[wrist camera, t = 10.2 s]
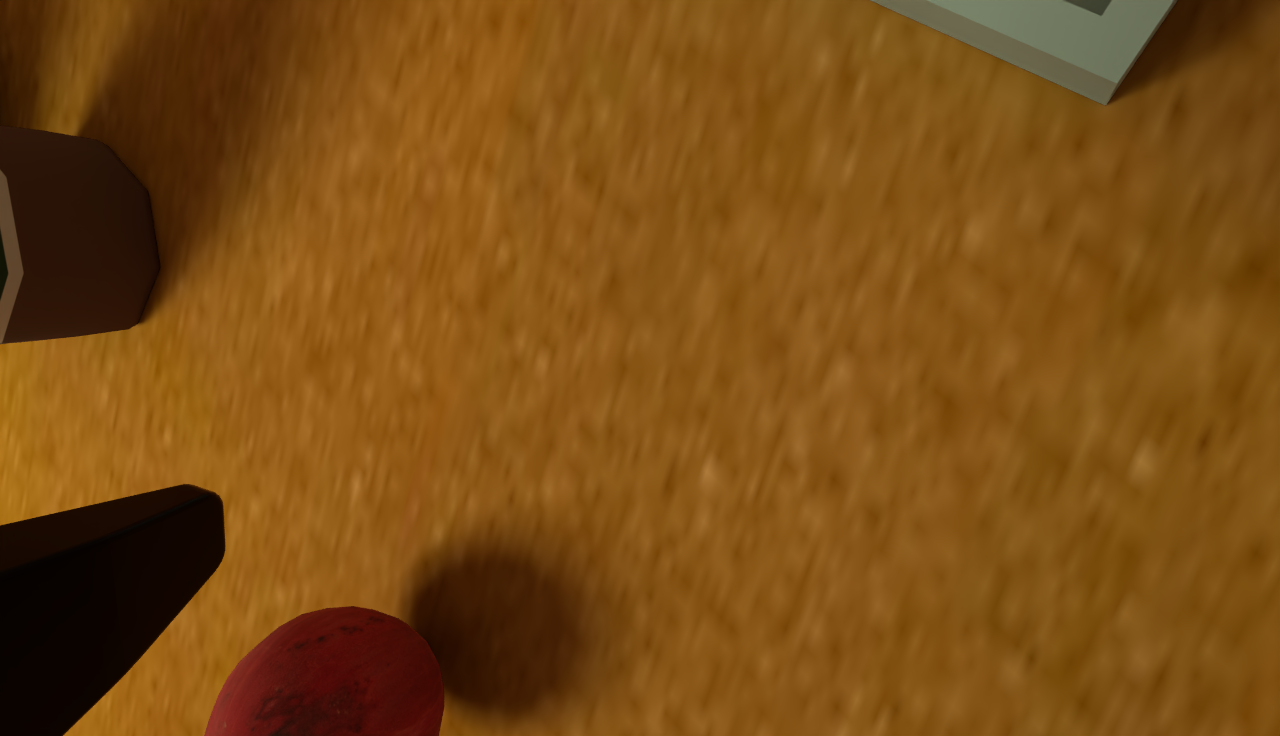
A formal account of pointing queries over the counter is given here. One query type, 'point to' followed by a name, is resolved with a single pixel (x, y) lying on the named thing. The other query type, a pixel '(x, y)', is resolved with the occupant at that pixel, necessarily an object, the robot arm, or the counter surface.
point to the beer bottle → (70, 238)
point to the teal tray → (1051, 35)
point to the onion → (334, 680)
